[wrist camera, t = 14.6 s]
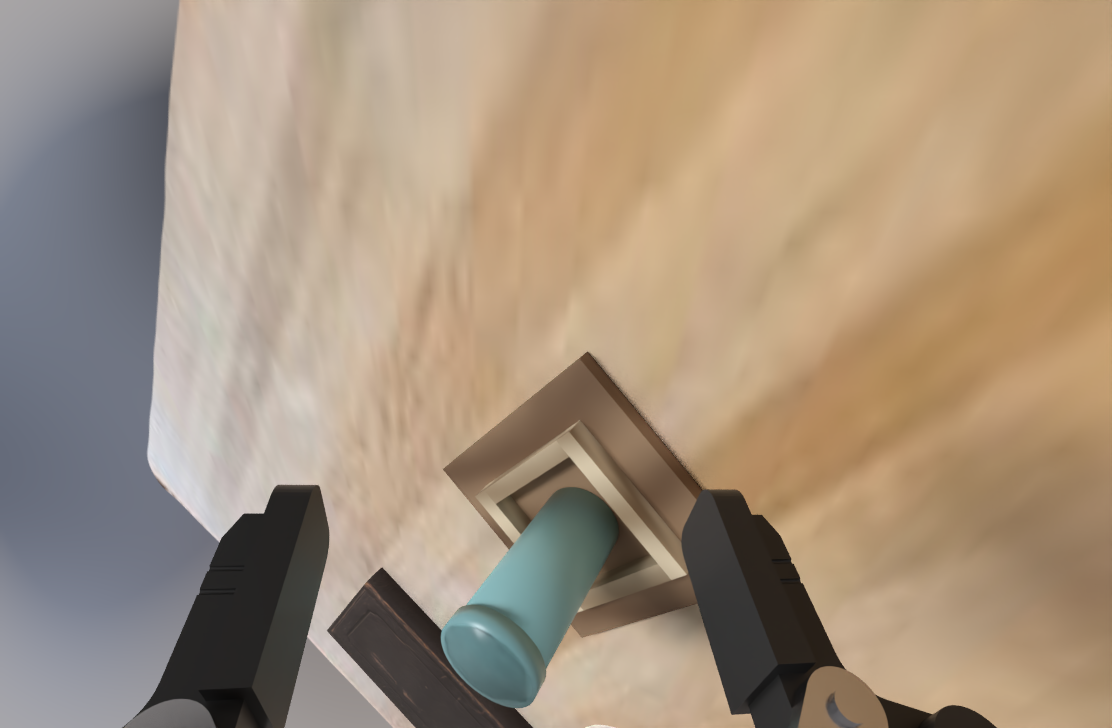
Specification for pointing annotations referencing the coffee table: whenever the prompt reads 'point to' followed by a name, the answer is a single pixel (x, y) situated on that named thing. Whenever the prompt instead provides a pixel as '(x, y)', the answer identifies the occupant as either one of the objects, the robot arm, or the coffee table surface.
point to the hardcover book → (412, 661)
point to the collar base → (590, 489)
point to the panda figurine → (599, 726)
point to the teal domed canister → (531, 599)
